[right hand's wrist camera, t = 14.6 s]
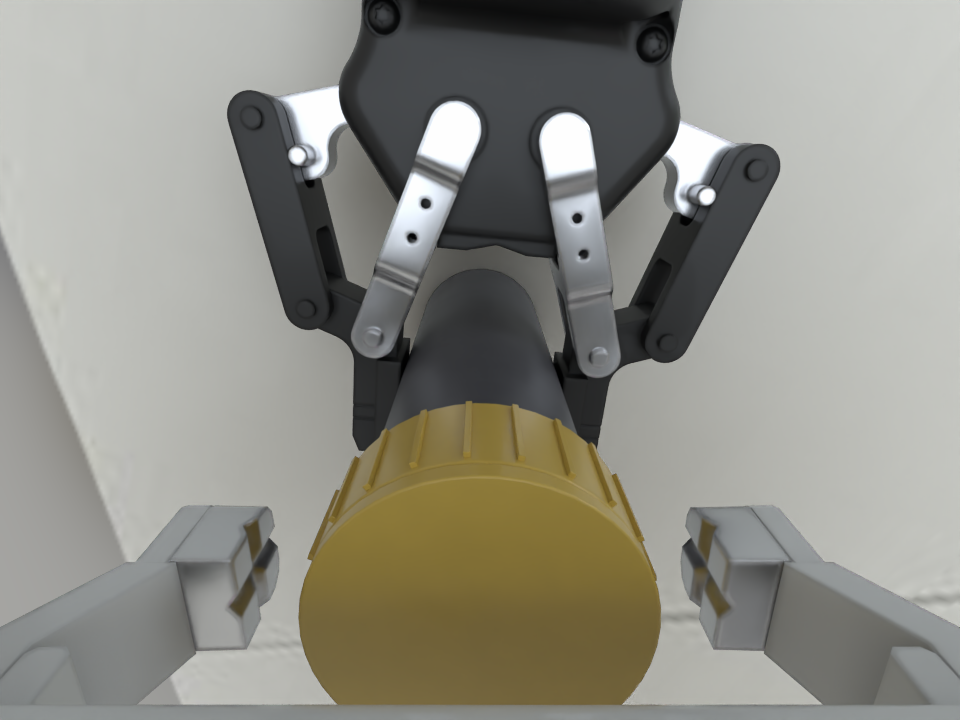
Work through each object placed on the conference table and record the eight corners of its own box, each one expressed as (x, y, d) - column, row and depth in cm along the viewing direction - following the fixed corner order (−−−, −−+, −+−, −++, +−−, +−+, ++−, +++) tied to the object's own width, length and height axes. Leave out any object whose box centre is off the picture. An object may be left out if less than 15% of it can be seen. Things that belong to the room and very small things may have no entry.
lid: (382, 353, 10) (352, 417, 7) (680, 457, 10) (736, 545, 8) (299, 598, 11) (254, 710, 9) (557, 673, 12) (575, 795, 10)
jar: (549, 283, 23) (668, 512, 8) (520, 387, 24) (579, 730, 10) (435, 257, 22) (356, 449, 8) (414, 364, 24) (314, 686, 10)
